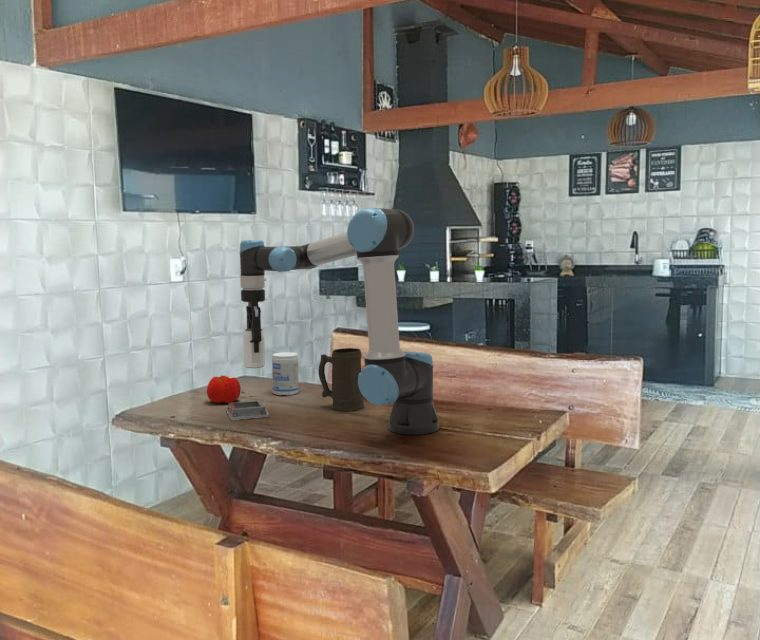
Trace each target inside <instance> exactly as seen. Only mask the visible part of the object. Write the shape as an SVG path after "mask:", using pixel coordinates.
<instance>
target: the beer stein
mask: <svg viewBox="0 0 760 640" xmlns="http://www.w3.org/2000/svg"><path fill="white" fill-rule="evenodd" d="M331 353H332V354H331V355H330V356H329V355H327V354H325V353H323V354H320V362H319V364H318V370H317V371H318V378H319V380H320V381H319V382H320V383H321V386H322V388H323V391H322V392H321V396H322V398H327V397H329V398H331V399H332V406H331V407H332V410H334V411H338V412H340V411H341V412H352V411H354V412H355V411H358V410H362V409H364V408H365V404H364V398H365V397H364V396H363V395H362V394H361V392H360V389H359V386H358V376H359V373H360V372H361V370H362V355H363V354H362V350H361V349H360V348H358V347H357V348H353V347H347V348H346V347H345V348H337V349H336V348H335V349H333V350H332V352H331ZM327 363H330V364H331V366H332V367H331V389H330V388H329V385H328V382H327V378H326V374H325V373H326V369H325V367H326V364H327Z"/></svg>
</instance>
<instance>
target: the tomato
mask: <svg viewBox="0 0 760 640" xmlns="http://www.w3.org/2000/svg"><path fill="white" fill-rule="evenodd" d="M241 389H242V388H241V384H240V381H239V380H238V379H237V377H233V376H231V377H229V376H226V375H220V376H213V377H212V378H211V379H210V380H209V381H208V384H207V388H206V395H207V398H208V399H209V400H210V401H211V402H213V403H215V404H221V403H223V404H224V403H225V404H227V403H233V402H236V401H237V400H238V399H239V398H240V395H241Z"/></svg>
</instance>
